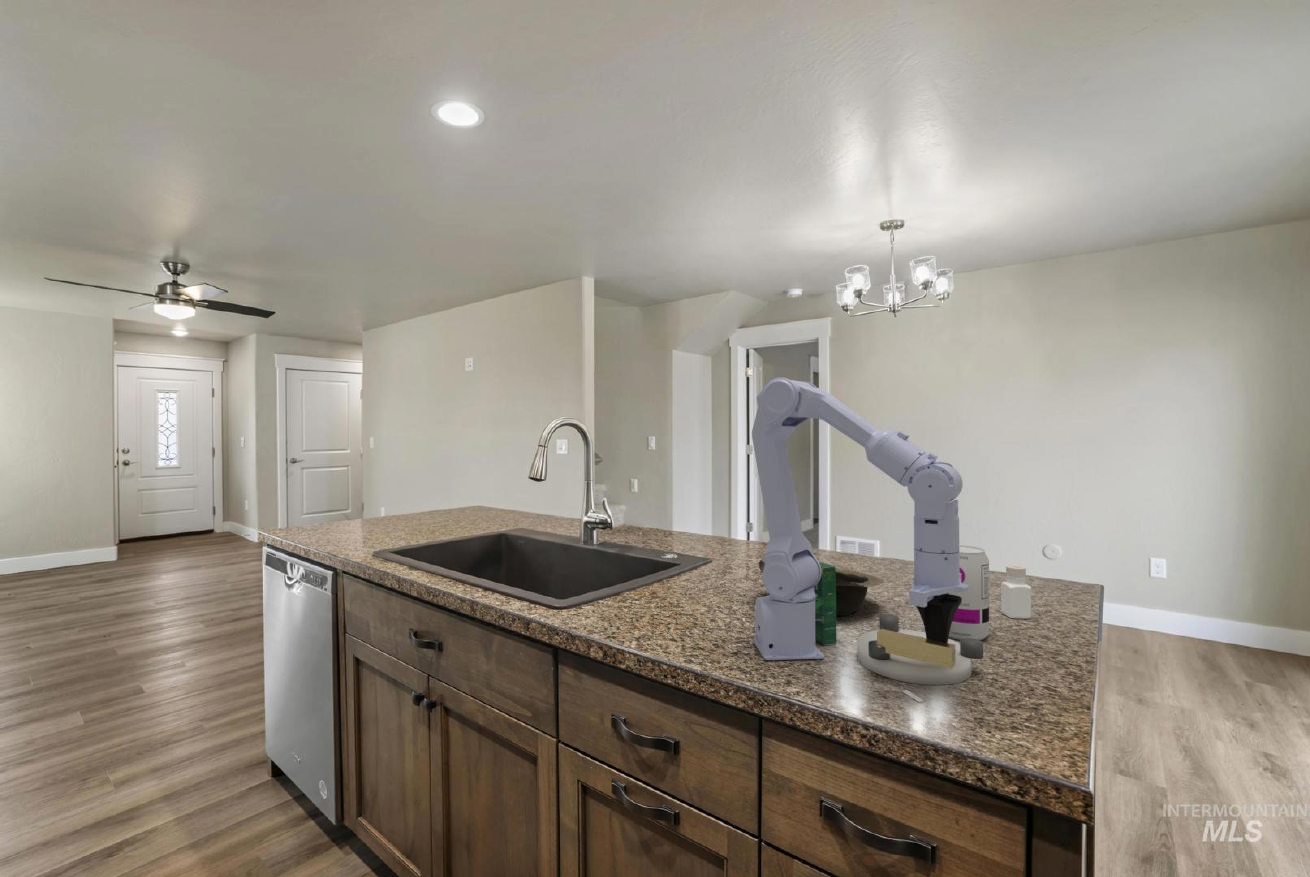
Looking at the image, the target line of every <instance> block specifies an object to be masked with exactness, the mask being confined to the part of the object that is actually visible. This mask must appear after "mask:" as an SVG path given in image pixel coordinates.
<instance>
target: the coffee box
mask: <svg viewBox="0 0 1310 877" xmlns="http://www.w3.org/2000/svg"><path fill="white" fill-rule="evenodd" d="M819 563H820V566H821V578H820V580H819V582H818V583H817V584H816V585H815V586H814V592H815V642H816V643H818V644H821V645H823V646H833V645H836V644H838V643H837V640H838V639H837V615H836V570H835V568H836V566H835V565H832V564H829V563H824V562H822V561H819Z"/></svg>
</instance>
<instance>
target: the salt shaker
mask: <svg viewBox="0 0 1310 877" xmlns="http://www.w3.org/2000/svg"><path fill="white" fill-rule="evenodd" d="M1026 573H1027V568H1026V567H1024V566H1022V565H1013V564H1011V565H1006V566H1005V576H1006V581H1003V582H1001V583H1000V596H1001V599H1000V603H1001V604H1000V606H1001V608H1000V610H1001V613H1002V614H1003V615H1004V616H1006V617H1008V618H1010V619H1019V620H1020V619H1023V620H1026V619H1027V620H1028V619H1031V617H1032V587H1031V586H1030V585H1029V584H1028V583H1026V576H1027V575H1026Z"/></svg>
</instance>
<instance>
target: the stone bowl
mask: <svg viewBox="0 0 1310 877" xmlns="http://www.w3.org/2000/svg"><path fill="white" fill-rule="evenodd" d="M764 565H765V561H763V560H762V559H761V560H759V561H758V567H759V568H758V569H759V570H760V573H761V574H763V570H764ZM835 570H836V616H845V617H847V616H850V615H852V614H853V613H857V612H858V611H859V609H861V606H862V604H863V603H864V601H865V599H866V596H867V593H868V589H869V588H873V587H875V586H879V585H880V584H884V583H885V581H884V579H883V578H880V577H877V576H875V575H872V574H867V573H864V572H860V571H857V570H852V569H841V568H838V567H835Z"/></svg>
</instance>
